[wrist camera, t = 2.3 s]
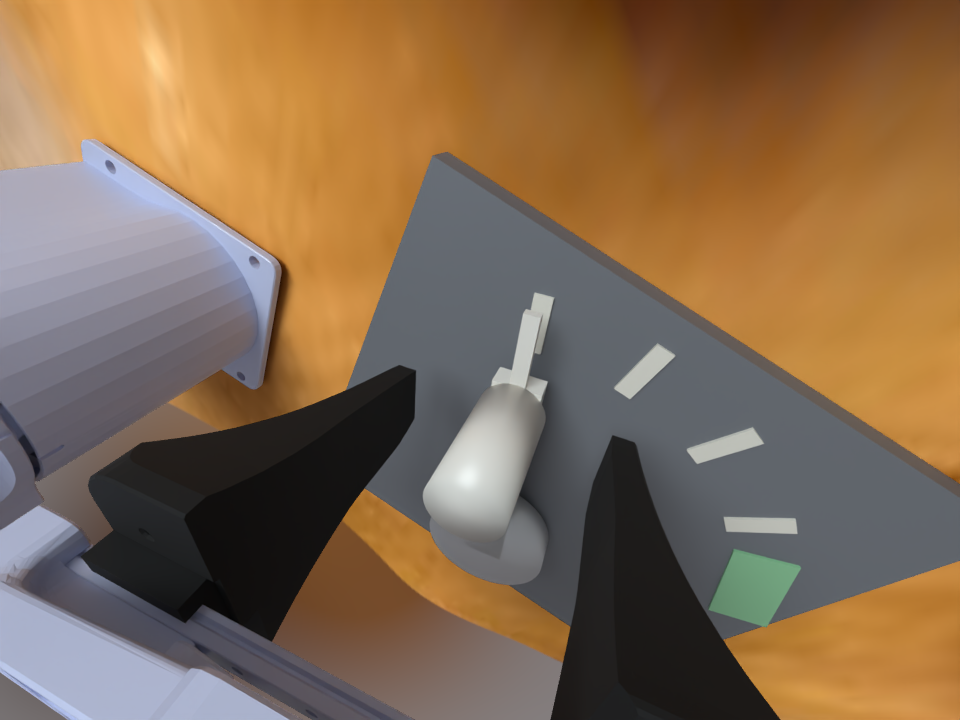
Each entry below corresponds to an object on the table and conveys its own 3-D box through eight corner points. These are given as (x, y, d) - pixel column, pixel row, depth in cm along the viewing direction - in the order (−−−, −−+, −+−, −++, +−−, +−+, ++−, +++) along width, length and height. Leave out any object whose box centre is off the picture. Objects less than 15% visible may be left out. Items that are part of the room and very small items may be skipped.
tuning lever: (536, 575, 19) (501, 705, 15) (438, 533, 20) (381, 644, 16) (628, 321, 12) (609, 444, 8) (463, 277, 13) (368, 363, 9)
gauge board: (333, 445, 22) (319, 459, 21) (447, 152, 12) (430, 156, 11) (635, 648, 22) (633, 671, 21) (999, 510, 12) (1026, 542, 11)
